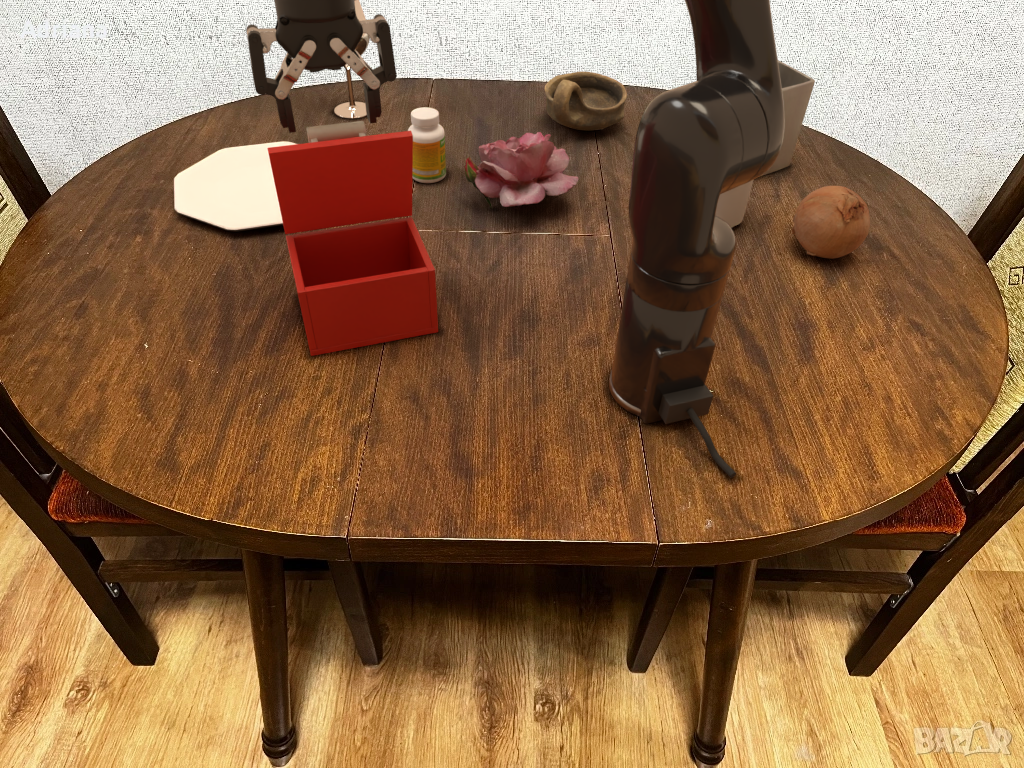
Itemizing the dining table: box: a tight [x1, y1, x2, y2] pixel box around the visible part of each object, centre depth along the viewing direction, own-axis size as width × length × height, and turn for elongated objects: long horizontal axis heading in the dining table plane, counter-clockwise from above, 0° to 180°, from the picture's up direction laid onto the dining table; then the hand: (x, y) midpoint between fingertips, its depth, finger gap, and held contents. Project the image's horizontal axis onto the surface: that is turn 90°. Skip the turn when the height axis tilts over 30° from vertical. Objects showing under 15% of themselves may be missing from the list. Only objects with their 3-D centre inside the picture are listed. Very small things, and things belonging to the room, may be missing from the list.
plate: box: [173, 140, 297, 232], centre depth 110 cm, size 24×24×2 cm
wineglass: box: [333, 0, 371, 120], centre depth 124 cm, size 8×8×18 cm
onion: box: [791, 185, 871, 259], centre depth 100 cm, size 10×9×10 cm
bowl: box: [544, 70, 628, 131], centre depth 124 cm, size 14×18×10 cm
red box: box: [285, 216, 439, 357], centre depth 87 cm, size 11×15×9 cm
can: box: [715, 179, 755, 229], centre depth 104 cm, size 8×8×12 cm
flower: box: [463, 131, 579, 210], centre depth 107 cm, size 15×15×10 cm
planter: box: [760, 59, 816, 177], centre depth 114 cm, size 16×8×19 cm, turn 164°
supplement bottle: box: [407, 106, 447, 184], centre depth 112 cm, size 5×5×10 cm
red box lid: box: [267, 120, 414, 235], centre depth 84 cm, size 12×15×5 cm
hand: (332, 124), depth 82 cm, fingers open, 8 cm apart
